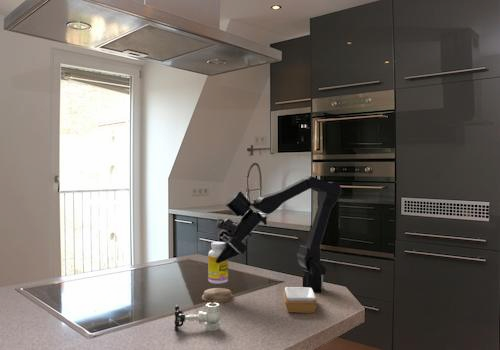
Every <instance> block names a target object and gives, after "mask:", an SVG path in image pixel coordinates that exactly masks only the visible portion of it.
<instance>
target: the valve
mask: <svg viewBox="0 0 500 350" xmlns="http://www.w3.org/2000/svg"><path fill="white" fill-rule="evenodd" d="M174 310H175V311H174V331H175V332H176V331H177V330H180V327H182V326H183V325H184V322H186V321H188V322H195V321H196V322H198V324H203V323H204V322H205V324H204V325H205V330H206V329H207V331H208V332H217V331H218V330H219V329H220V328H221V327H220V326H221V325H220V323H221V322H220V320H221V313H220V311H221V303H211V302H207V303H206V304H205V311H204V312H203V311H200V310H199V311H198V313H196V314H194V313H189V314H188V315H186V314H185V313H184V312H183V311H182V310H180V305H175V307H174Z"/></svg>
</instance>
